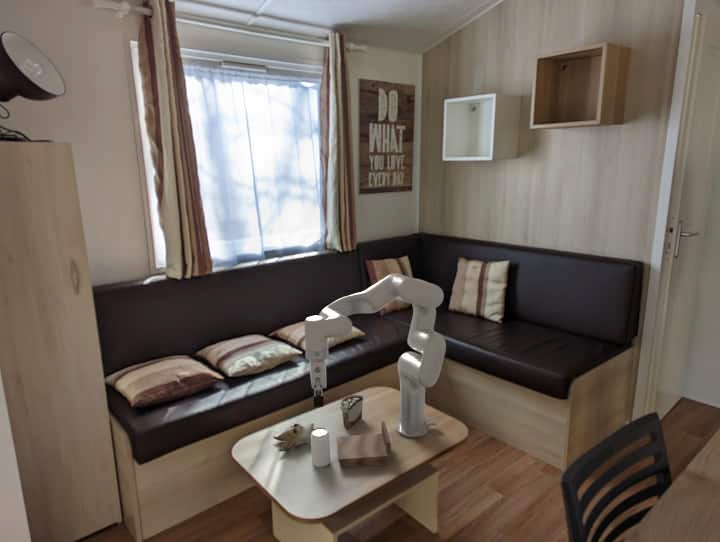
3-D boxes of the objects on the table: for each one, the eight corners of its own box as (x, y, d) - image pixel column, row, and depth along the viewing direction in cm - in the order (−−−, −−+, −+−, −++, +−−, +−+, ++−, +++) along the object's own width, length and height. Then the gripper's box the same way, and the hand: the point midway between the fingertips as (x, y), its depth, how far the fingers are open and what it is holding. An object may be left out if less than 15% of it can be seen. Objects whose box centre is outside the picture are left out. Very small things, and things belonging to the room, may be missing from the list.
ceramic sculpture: (317, 426, 185) (277, 437, 180) (319, 447, 187) (279, 458, 182) (309, 412, 194) (270, 423, 189) (311, 432, 197) (273, 443, 192)
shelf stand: (384, 442, 189) (384, 421, 187) (390, 465, 176) (390, 442, 173) (336, 446, 187) (336, 424, 185) (338, 469, 174) (338, 446, 172)
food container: (351, 413, 210) (350, 391, 208) (363, 417, 207) (363, 395, 205) (334, 427, 200) (333, 404, 197) (347, 431, 197) (347, 408, 194)
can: (321, 470, 174) (320, 439, 171) (308, 463, 178) (306, 432, 175) (334, 460, 179) (333, 430, 176) (320, 454, 183) (319, 424, 180)
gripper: (329, 362, 160) (330, 411, 164) (327, 342, 177) (328, 387, 181) (305, 364, 160) (307, 413, 164) (305, 343, 176) (307, 388, 180)
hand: (318, 399), depth 172 cm, fingers open, 9 cm apart
